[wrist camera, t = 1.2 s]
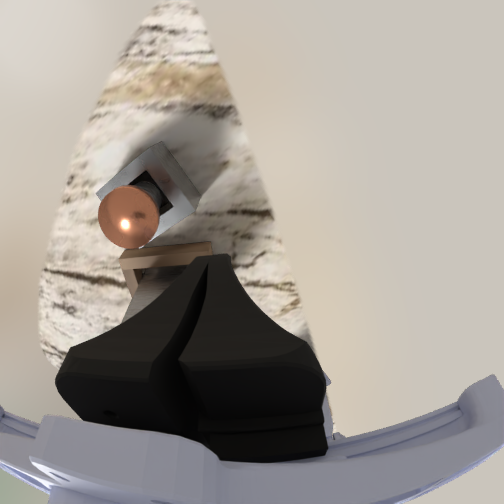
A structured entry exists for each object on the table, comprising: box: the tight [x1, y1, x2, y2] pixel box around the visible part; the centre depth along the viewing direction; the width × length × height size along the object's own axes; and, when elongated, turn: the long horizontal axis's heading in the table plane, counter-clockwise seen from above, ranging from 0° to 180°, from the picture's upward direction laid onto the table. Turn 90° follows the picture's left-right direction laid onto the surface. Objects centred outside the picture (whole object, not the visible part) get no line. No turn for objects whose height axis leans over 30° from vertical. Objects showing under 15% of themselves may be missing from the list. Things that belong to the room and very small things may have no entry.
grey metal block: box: [122, 264, 189, 323], centre depth 21 cm, size 4×4×8 cm
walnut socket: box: [119, 242, 213, 298], centre depth 23 cm, size 7×7×2 cm
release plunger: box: [98, 182, 162, 249], centre depth 16 cm, size 4×4×4 cm
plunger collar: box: [96, 142, 201, 249], centre depth 19 cm, size 5×5×3 cm
